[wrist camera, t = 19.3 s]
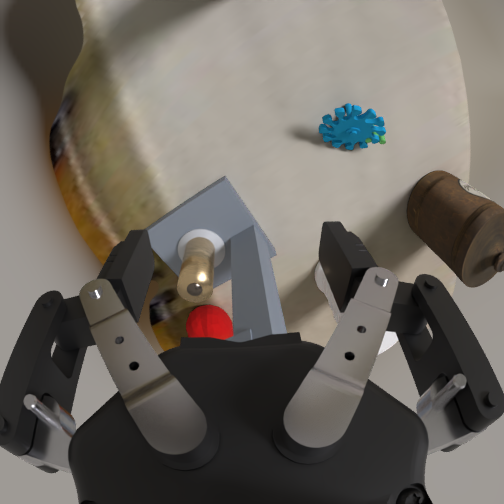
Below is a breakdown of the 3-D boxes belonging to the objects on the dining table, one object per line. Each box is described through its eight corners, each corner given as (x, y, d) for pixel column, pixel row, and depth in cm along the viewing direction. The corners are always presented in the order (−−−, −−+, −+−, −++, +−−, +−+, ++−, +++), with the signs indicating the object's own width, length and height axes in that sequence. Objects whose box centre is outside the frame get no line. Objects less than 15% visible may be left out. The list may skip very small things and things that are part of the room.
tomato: (202, 290, 55) (199, 321, 47) (243, 311, 58) (246, 342, 51) (179, 316, 58) (175, 347, 51) (219, 335, 62) (218, 365, 55)
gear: (306, 141, 39) (345, 103, 30) (304, 111, 40) (339, 73, 31) (363, 161, 42) (405, 133, 33) (359, 133, 44) (396, 104, 34)
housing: (179, 246, 46) (169, 285, 37) (203, 231, 45) (198, 269, 36) (197, 267, 48) (191, 308, 40) (220, 253, 47) (219, 293, 39)
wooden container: (465, 206, 48) (530, 261, 30) (421, 247, 53) (478, 316, 35) (444, 155, 42) (528, 204, 24) (394, 201, 47) (467, 271, 29)
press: (143, 229, 46) (69, 423, 17) (225, 175, 43) (222, 390, 13) (223, 315, 59) (227, 482, 29) (295, 280, 55) (345, 456, 25)
